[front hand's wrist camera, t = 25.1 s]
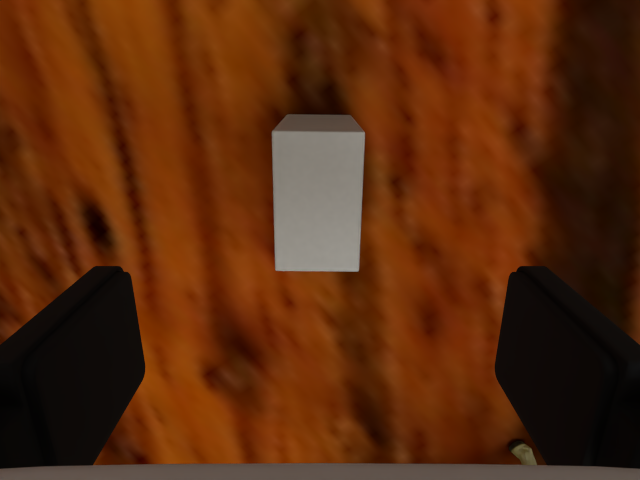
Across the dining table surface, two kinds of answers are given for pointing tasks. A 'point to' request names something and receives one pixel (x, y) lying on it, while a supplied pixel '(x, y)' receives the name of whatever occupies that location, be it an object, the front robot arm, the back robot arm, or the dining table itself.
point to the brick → (317, 192)
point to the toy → (523, 453)
